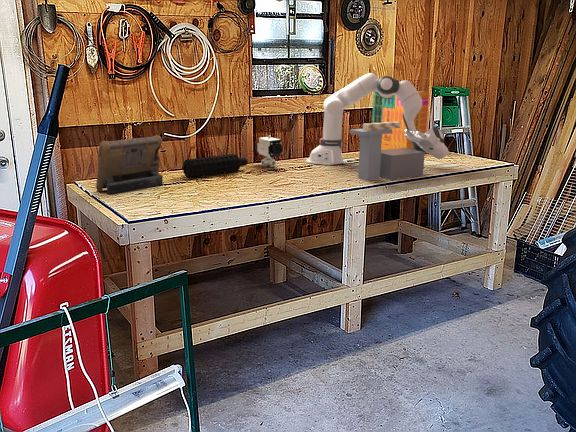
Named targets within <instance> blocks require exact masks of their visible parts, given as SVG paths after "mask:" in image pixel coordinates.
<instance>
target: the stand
mask: <svg viewBox="0 0 576 432" xmlns="http://www.w3.org/2000/svg"><path fill="white" fill-rule="evenodd" d="M349 134H351V135H356V136H359V152H358V153H359V154H358V174H357V175H358V176H357V178H358V179H360V180H364V181H367V182H369V181H376V180H377V181H378V180H380V178H381V177H380V161H381V143H382V134H392V129H381V130H368V131H367V130H363V128H355V129H354V128H353V129H349Z"/></svg>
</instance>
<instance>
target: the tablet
mask: <svg viewBox="0 0 576 432" xmlns="http://www.w3.org/2000/svg"><path fill="white" fill-rule="evenodd" d="M162 142H163V138H162V137H161V136H160V135H158V134H155V135H153V136H146V137H135V138H127V139H118V140H110V141H109V140H107V141H106V140H102V141H101V142H100V143H99V146H98V154H97V156H98V159H97V173H96V175H97V176H96V183H95V185H96V192H98V193H101V192H103V189H106V194H107V196H108V195H115V194H121V193H123V194H124V193H127V192H133V191H139V190H144V189H148V188H155V187H158V186H159V187H160V186H163V185H164V184H163V180H164V179H163V174H160V172H159V171H160V156H159V155H158V153H159V150H160V149H161V145H162Z"/></svg>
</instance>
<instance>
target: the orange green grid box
mask: <svg viewBox="0 0 576 432" xmlns="http://www.w3.org/2000/svg"><path fill="white" fill-rule="evenodd" d="M417 92H418V93H419V95H420V97H421V99H422V107H421V109H420V111H419V112H418V114H417V115H416V117H415V119H414V125H415V128H416V130H417V131H420V132H422V133H425V132H426V131H427V125H428V115H429V114H428V112H429V100H430V91H424V90H423V91H422V90H421V91H420V90H417ZM403 113H404V109H403V105H402V103H401V102H400V100H399V99H398V97H397V96H395V95H394V96H393V97H391V98H389V99H384V98H382V97H380V96H379V95H378V94H377V93H376V92H375V91H374V92H373V97H372V114H371V115H372V117H371V123H382V122H401V127H400V128H394V129H392V134H382V143H381V150H387V149H398V148H408V149H413V150H414V148H413V146H412V142H411V140H409V139H408V138H406V137H405V136H404V134H405V132H404V130H405V129H407V128H406V125H405V123H404V120H403Z"/></svg>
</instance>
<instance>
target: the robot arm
mask: <svg viewBox="0 0 576 432" xmlns="http://www.w3.org/2000/svg"><path fill="white" fill-rule="evenodd" d="M374 91H375V92H376V93H377V94H378V95H379V96H380V97H382V98H384V99H389V98H391V97H393V96H394V95H395V96H397V97H398V99H399V100H400V102H401V103H402V105H403V109H404V113H403V120H404V123H405V125H406V128H407V129H405V130H404V132H405V134H404V136H405V137H406V138H408V139H409V140H411V142H412V146H413V148H414V150H417V151H422V152H425V153H428V154H429V155H430V156H432V157H434V158H435V159H437V160H442V159H444V158H445V157H446V156H447V155H448V153H449V149H448V147H447V145H445V134H444V132H443V131H442V129H440V128H439V127H436V126H433V127H431V128H428V129H426V132H425V133H422V132H420V131H417V130H416V128H415V125H414V119H415V117H416V115H417V114H418V112H419V111H420V109H421V107H422V99H421V97H420V95H419V93H418V92H417V91H418V90H417V89H416V87H415V86H414V85H413V83H412V82H410V81H409V80H407V79H404V80H401V81H399V80H398V79H396V78H394V77H392V76H390V75H384V76H382V77H380V78H379V77H378V76H377V74H375V73H373V72H369V73H366V74H364V75H362V76H360V77H358V78H357V79H356V80H354V81H352V82H351V83H349V84H348V85H346V86H345V87H343V88H340V90H338V91H336V92H334V93H333V94H331V95H330V96H328V97H326V99H324V101H323V110H324V111H323V128H322V129H323V131H322V135H323V136H322V138H320V139H319V145H318V146H316V147H315V148H314V149H312V150H311V152H310V155H309V158H306V160H305V163H307V164H315V165H327V166H332V165H339V164H343V163H344V160H343V159H344V158H343V155H342V154H343V153H342V148H343V139H342V133H343V132H342V131H343V128H342V126H343V117H344V110H345V109H347V108H348V107H350V106H352V105H354V104H357V103H358V102H359V101H361V100H362V99H364V98H365V97H366V96H368V95H369V94H371V93H374Z"/></svg>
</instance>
